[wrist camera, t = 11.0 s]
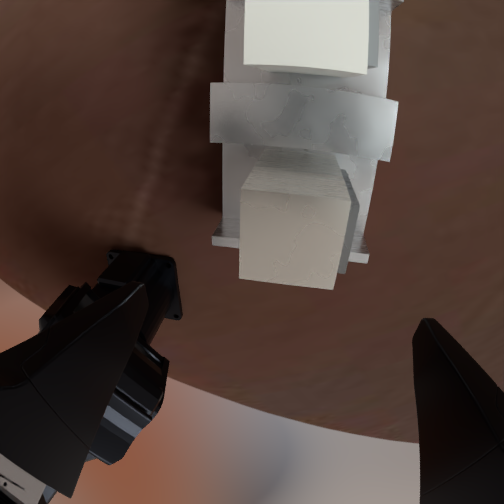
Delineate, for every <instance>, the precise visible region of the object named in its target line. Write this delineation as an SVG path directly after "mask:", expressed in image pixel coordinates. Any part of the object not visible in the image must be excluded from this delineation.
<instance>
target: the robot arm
mask: <svg viewBox="0 0 504 504" xmlns="http://www.w3.org/2000/svg"><path fill="white" fill-rule="evenodd" d="M106 256H107V260H108V264H109V266H108V267H107V268H106V270H105V271H104V272H103V273H102V274H101V275H100V276H99V278H98V279H97V281H98V283H97V284H96V285H95V287H94V288H93V289H91V287H90V286H89V284H88V283H87V282H85V283H84V284H83V285H82V286H81V287H80V288H79V287H74V286H71V285H69V286H68V287H67V288H66V289H65V290H64V291H63V292H62V294H61V295H60V296H59V297H58V298H57V299H56V300H55V301H54V303H53V304H52V305H51V306H50V307H49V308H48V310H47V311H46V312H45V313H44V314H43V316H42V317H41V318H40V319H39V328H40V331H39V333H38V334H37V335H35V336H33V337H32V338H30V339H28V340H26V341H24V342H22V343H20V344H18V345H16V346H14V347H12V348H10V349H8V350H6V351H4V352H2V353H0V504H48V503H49V502H50V501H51V499H52V498H53V496H54V495H55V494H56V492H57V491H58V492H59V493H61V494H63V495H65V496H67V497H69V498H71V497H72V495H73V492H74V489H75V487H76V484H77V481H78V478H79V476H80V473H81V470H82V468H83V465H84V463H85V462H86V461H90V460H93V459H96V458H97V459H99V460H100V461H102V462H104V463H106V464H108V465H111V464H113V463H115V462H117V461H119V460H120V459H122V458H123V457H124V455H125V453H126V452H127V450H128V448H129V446H130V445H131V443H132V442H133V440H134V439H135V437H136V436H137V435H138V434H139V433H140V431H141V430H142V429H143V428H144V427H145V426H146V425H147V424H149V423H150V422H151V421H152V419H153V418H154V417H155V416H156V414H157V413H158V411H159V410H160V408H161V405H162V403H163V399H164V393H165V386H166V379H167V373H168V367H169V360H167V359H166V358H165V357H162V356H161V355H160V354H159V353H158V352H156V351H155V350H154V349H153V348H152V347H151V346H150V344H151V342H152V340H153V338H154V336H155V334H156V332H157V330H158V329H159V327H160V325H161V323H162V321H163V319H164V318H168V319H173V320H180V319H181V318H182V316H183V313H182V306H181V299H180V292H179V285H178V277H177V269H176V263H175V261H174V259H172V258H170V257H163V256H155V255H148V254H144V253H137V252H130V251H119V250H109V251H108V252H107V254H106ZM168 263H170V264H171V265H169V264H168ZM176 314H177V315H176ZM412 347H413V372H414V389H415V397H416V407H417V418H418V431H419V447H420V504H504V392H503V391H502V390H501V389H500V388H499V387H497V384H496V383H495V382H494V381H493V380H492V379H491V378H490V376H489V375H488V374H487V373H486V372H485V371H484V370H483V369H482V368H481V366H480V365H479V364H478V363H477V362H476V361H475V360H474V359H473V358H472V357H471V356H470V355H469V353H468V352H467V351H466V350H465V349H464V348H463V347H462V346H461V345H460V344H459V343H458V342H457V341H456V340H455V339H454V338H453V337H452V336H451V335H450V334H449V333H448V332H447V331H446V330H445V329H444V328H443V327H442V326H441V325H440V324H439V323H438V322H437V321H436V320H435V319H433V318H423V319H422V320H421V322H420V324H419V326H418V328H417V330H416V332H415V334H414V336H413V340H412Z"/></svg>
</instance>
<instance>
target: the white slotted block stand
mask: <svg viewBox="0 0 504 504" xmlns="http://www.w3.org/2000/svg"><path fill="white" fill-rule="evenodd" d="M403 2H404V0H379V50H378V67H375V68H370V69H367V75H361V76H353V77H346V78H339V77H331V76H322V75H312V74H300V73H285V72H268V71H264V70H261V69H258V68H254V67H251V66H247V65H244V19H245V0H226V20H225V46H224V82H217V83H210V142H211V143H223V159H222V190H223V218H222V220H221V221H220V223H219V225H218V226H217V228H216V230H215V232H214V233H213V235H212V245H216V246H224V247H233V248H240V254H239V278H240V279H247V280H255V281H263V282H271V283H279V284H287V285H296V286H304V287H313V288H321V289H330V290H333V288H334V283H335V279H336V275H337V273H342V274H345V272H346V268H347V264H348V261H351V262H360V263H367V262H368V258H369V251H368V248H367V244H366V241H365V238H364V235H363V232H364V228H365V223H366V219H367V214H368V209H369V204H370V199H371V194H372V189H373V184H374V178H375V172H376V167H377V161H378V160H383V161H388V162H390V157H391V151H392V145H393V139H394V132H395V125H396V117H397V109H398V101H394V100H390V99H386V92H387V81H388V69H389V54H390V33H391V11H392V10H394V9H395V8H396V7H397V6H399V5H400V4H401V3H403Z"/></svg>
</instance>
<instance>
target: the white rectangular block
mask: <svg viewBox="0 0 504 504" xmlns="http://www.w3.org/2000/svg"><path fill="white" fill-rule="evenodd" d="M378 50H379V0H245V19H244V65H247V66H251V67H254V68H258V69H261V70H264V71H268V72H285V73H300V74H312V75H322V76H331V77H339V78H346V77H353V76H361V75H367V69H370V68H375V67H378Z"/></svg>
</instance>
